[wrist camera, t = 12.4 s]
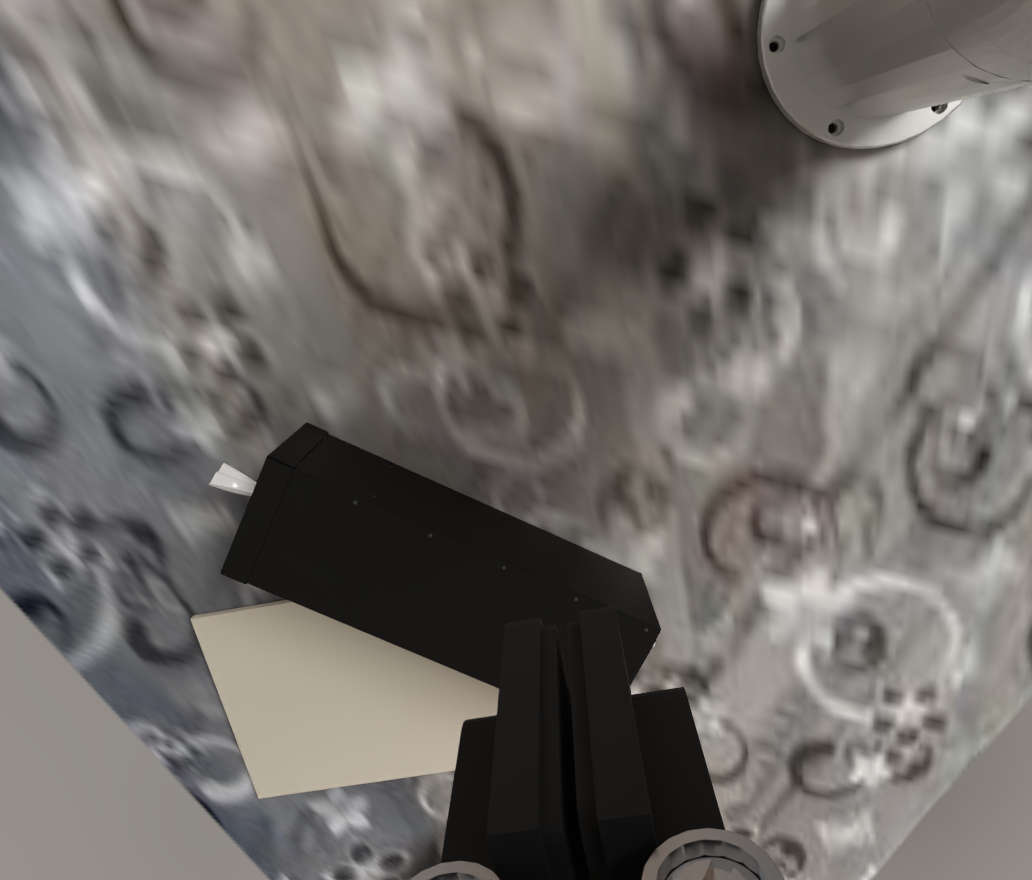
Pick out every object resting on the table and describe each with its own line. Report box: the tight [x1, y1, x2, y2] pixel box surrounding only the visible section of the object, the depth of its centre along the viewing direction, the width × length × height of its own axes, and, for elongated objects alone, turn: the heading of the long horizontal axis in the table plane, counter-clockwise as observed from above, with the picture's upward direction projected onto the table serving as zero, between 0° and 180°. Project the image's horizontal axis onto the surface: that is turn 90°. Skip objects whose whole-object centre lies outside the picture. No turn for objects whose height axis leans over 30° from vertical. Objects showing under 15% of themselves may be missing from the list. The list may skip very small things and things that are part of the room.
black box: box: [209, 423, 661, 689], centre depth 48 cm, size 8×8×28 cm
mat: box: [190, 600, 499, 799], centre depth 55 cm, size 26×16×1 cm, turn 102°
